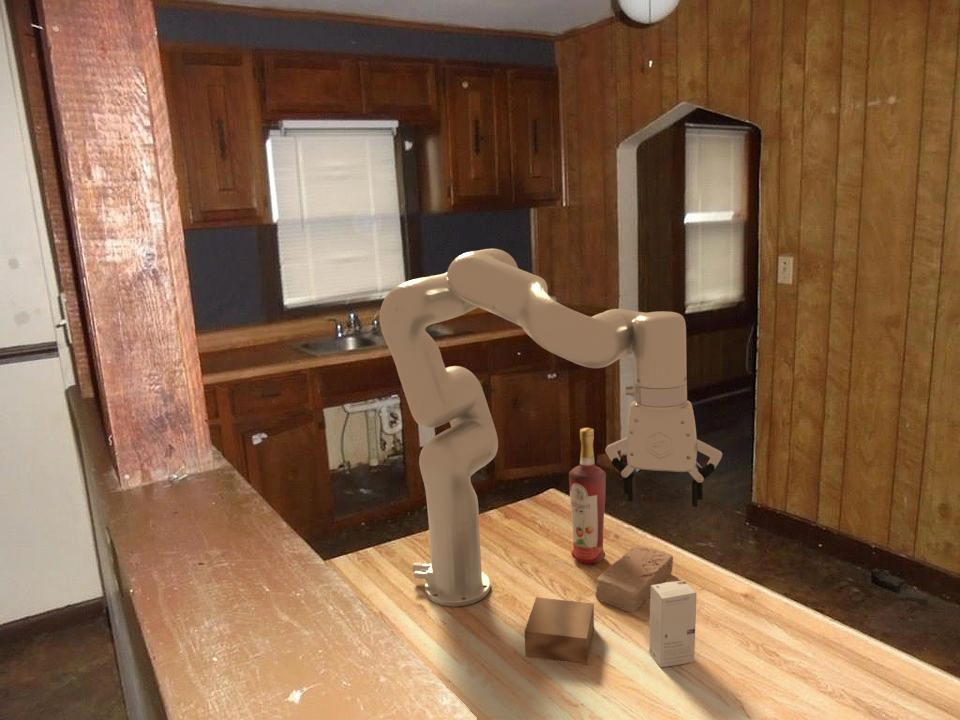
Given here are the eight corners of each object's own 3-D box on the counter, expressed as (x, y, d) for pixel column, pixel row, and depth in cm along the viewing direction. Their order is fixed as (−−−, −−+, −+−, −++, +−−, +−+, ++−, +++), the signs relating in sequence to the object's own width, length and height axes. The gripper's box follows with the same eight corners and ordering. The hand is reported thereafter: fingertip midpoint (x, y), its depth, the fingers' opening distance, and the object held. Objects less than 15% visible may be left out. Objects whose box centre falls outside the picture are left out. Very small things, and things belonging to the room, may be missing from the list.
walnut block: (525, 658, 114) (524, 631, 113) (536, 622, 123) (536, 597, 122) (587, 666, 111) (586, 638, 110) (593, 629, 121) (593, 603, 119)
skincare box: (660, 669, 109) (661, 599, 107) (647, 651, 114) (648, 584, 111) (696, 661, 111) (698, 593, 108) (682, 645, 115) (683, 578, 112)
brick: (634, 615, 124) (634, 591, 123) (593, 599, 129) (593, 576, 128) (674, 575, 137) (674, 553, 135) (635, 563, 142) (635, 541, 141)
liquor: (613, 558, 143) (612, 428, 137) (593, 572, 138) (592, 438, 132) (583, 547, 148) (581, 421, 142) (563, 561, 143) (560, 431, 136)
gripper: (598, 399, 105) (603, 506, 108) (720, 403, 98) (720, 516, 102) (608, 387, 111) (612, 487, 115) (723, 389, 105) (723, 495, 108)
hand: (663, 500), depth 108 cm, fingers open, 9 cm apart
